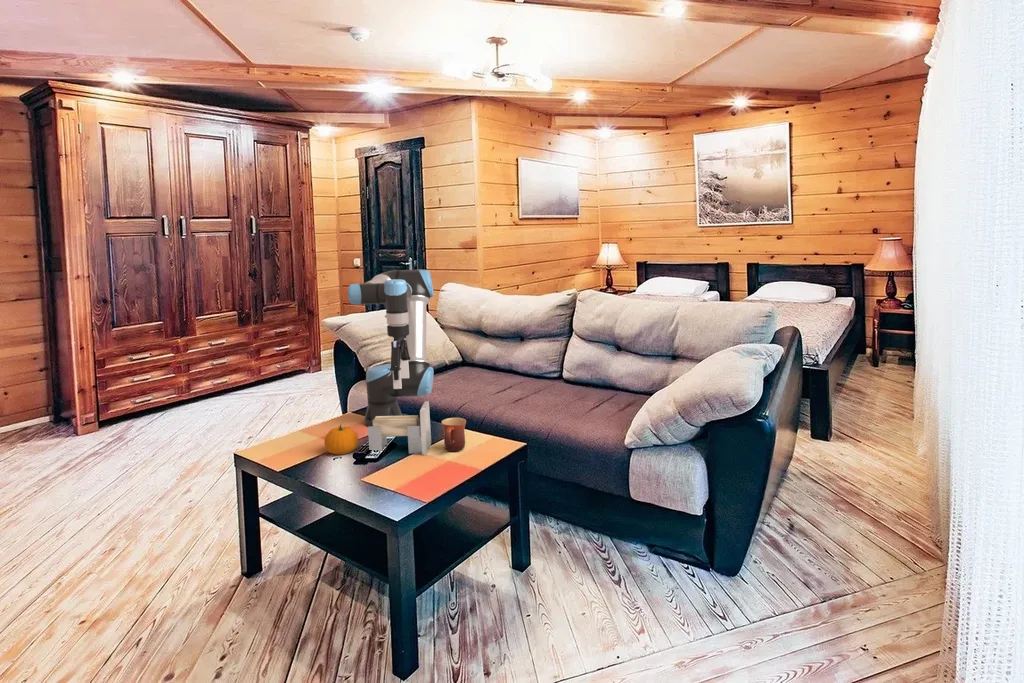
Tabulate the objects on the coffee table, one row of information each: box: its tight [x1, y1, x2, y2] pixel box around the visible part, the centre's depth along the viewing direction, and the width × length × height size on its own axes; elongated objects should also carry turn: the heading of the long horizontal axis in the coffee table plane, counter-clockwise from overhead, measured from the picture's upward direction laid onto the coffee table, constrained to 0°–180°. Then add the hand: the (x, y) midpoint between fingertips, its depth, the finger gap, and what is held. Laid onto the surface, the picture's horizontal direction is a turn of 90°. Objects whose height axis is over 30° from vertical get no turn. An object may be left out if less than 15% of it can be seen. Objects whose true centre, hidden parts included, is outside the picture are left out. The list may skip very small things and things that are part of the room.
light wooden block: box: [373, 414, 419, 437], centre depth 217 cm, size 4×15×6 cm, turn 90°
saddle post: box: [367, 423, 388, 452], centre depth 218 cm, size 8×4×10 cm, turn 0°
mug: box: [441, 417, 467, 453], centre depth 216 cm, size 12×9×10 cm
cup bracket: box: [407, 400, 432, 456], centre depth 217 cm, size 12×6×16 cm, turn 0°
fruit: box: [323, 424, 359, 456], centre depth 218 cm, size 12×12×10 cm
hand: (401, 383), depth 218 cm, fingers open, 13 cm apart
